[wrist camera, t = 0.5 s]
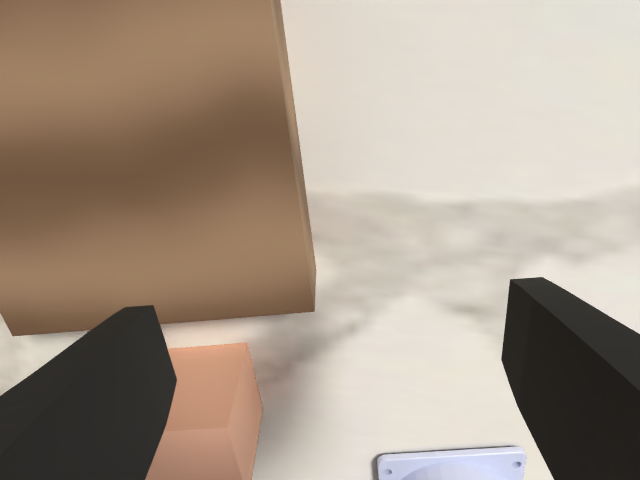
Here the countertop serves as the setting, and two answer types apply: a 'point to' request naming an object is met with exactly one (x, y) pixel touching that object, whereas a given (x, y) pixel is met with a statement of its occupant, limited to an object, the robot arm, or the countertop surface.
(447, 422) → the countertop surface
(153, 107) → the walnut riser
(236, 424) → the terracotta block
